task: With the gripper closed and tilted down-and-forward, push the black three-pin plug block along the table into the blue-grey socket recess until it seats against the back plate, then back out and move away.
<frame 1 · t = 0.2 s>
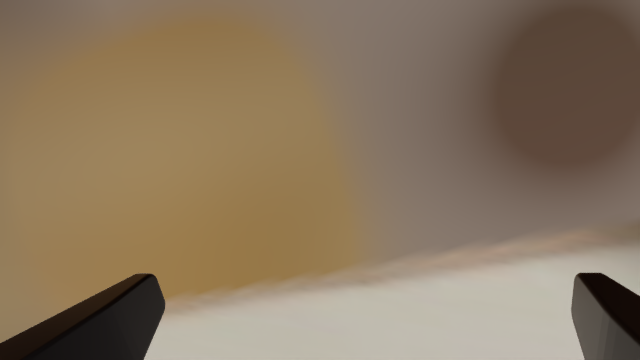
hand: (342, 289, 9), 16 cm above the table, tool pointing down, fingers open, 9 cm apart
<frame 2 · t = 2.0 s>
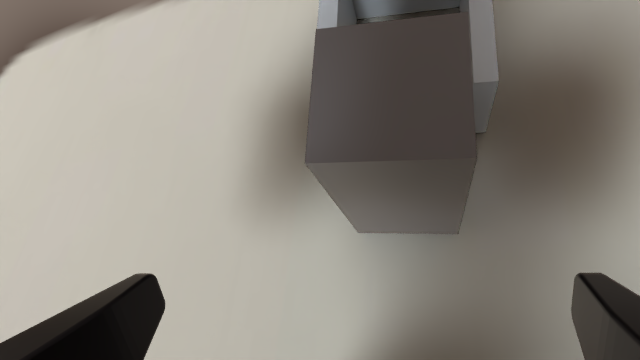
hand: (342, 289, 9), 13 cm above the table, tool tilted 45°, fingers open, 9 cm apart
socket: (406, 73, 25), on the table
plug: (399, 136, 18), point 5 cm above the table, slide at 7.0 cm
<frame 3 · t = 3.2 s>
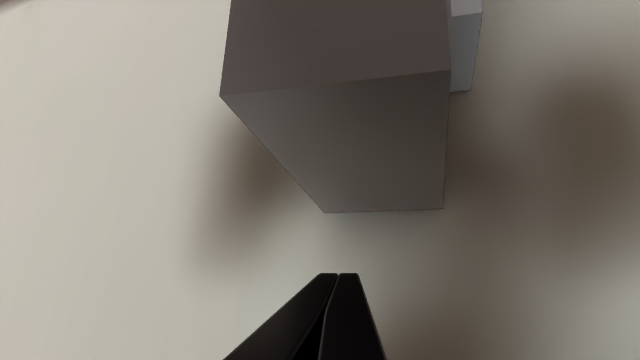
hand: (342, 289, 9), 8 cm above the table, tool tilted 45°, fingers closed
socket: (377, 29, 21), on the table
plug: (363, 84, 14), point 5 cm above the table, slide at 7.0 cm
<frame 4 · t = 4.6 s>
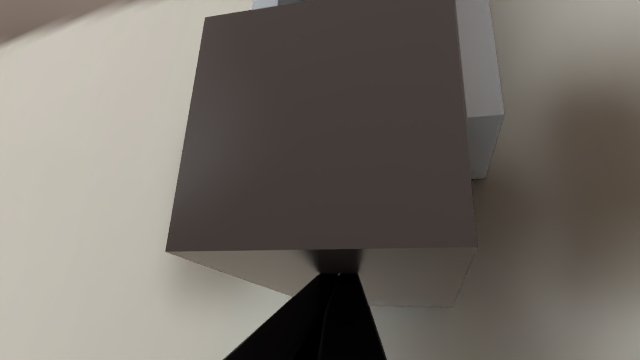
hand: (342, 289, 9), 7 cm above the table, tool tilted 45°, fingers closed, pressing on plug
socket: (378, 99, 19), on the table
plug: (359, 179, 12), point 5 cm above the table, slide at 6.3 cm, touching gripper
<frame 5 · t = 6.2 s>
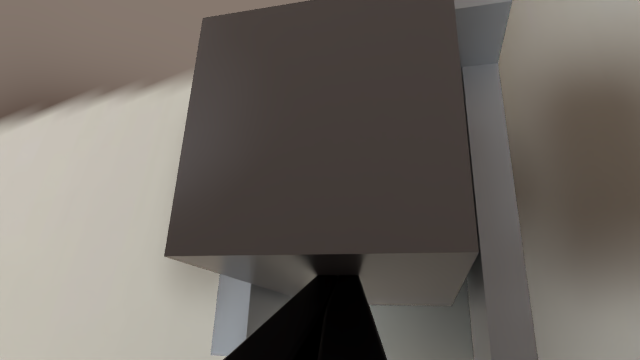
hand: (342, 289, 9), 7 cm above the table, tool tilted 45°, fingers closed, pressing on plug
socket: (380, 244, 16), on the table
plug: (359, 179, 12), point 5 cm above the table, slide at -0.2 cm, touching gripper
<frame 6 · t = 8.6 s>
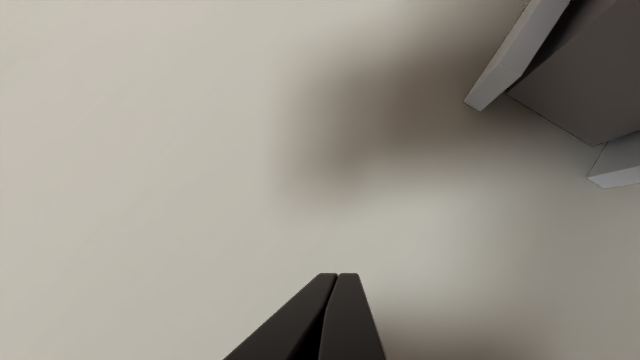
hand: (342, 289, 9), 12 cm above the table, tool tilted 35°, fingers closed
socket: (572, 81, 22), on the table
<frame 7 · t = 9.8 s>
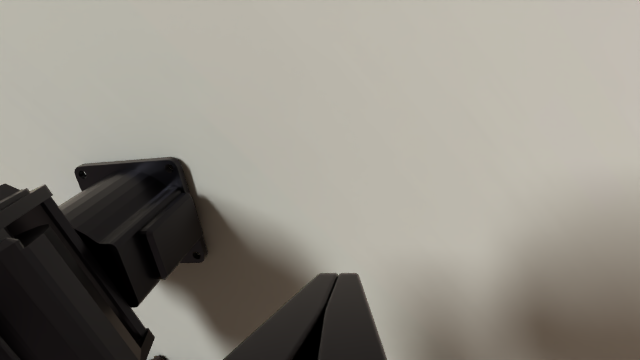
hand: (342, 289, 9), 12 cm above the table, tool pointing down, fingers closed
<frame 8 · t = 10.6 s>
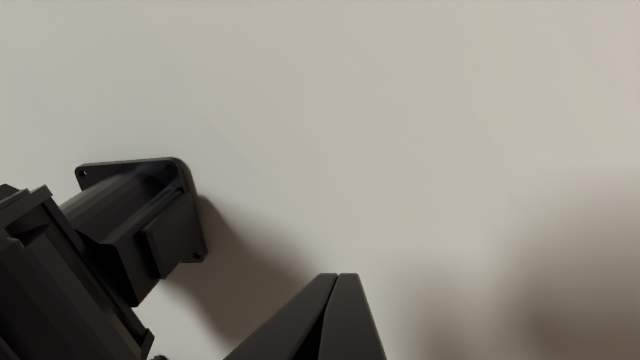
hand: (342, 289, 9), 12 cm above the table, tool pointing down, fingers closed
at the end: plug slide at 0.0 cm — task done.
